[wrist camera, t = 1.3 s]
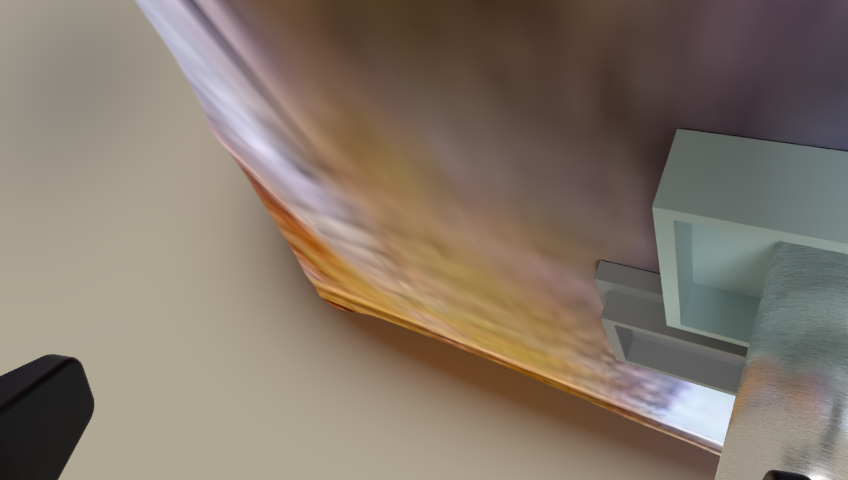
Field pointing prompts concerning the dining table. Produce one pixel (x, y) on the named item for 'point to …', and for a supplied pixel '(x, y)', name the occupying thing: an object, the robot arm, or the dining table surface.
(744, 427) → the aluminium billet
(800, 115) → the dining table surface
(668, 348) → the tray
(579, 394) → the dining table surface
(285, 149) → the dining table surface
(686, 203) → the tote
